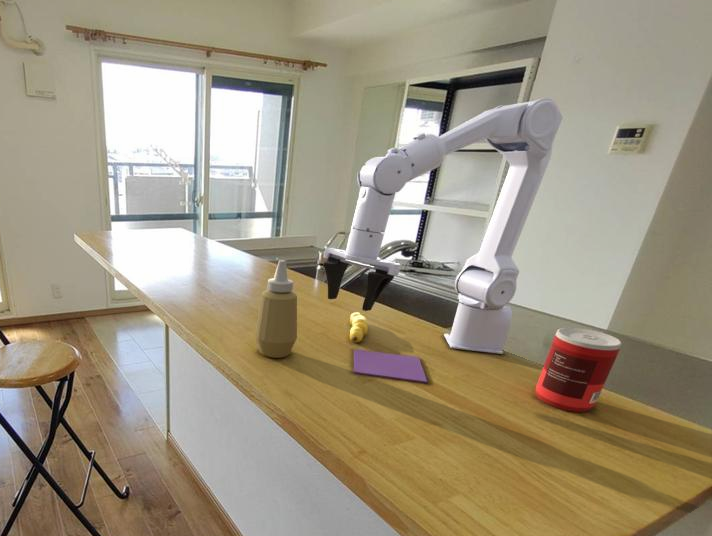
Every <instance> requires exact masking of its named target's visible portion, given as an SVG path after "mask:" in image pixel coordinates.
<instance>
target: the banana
mask: <svg viewBox="0 0 712 536" xmlns="http://www.w3.org/2000/svg"><path fill="white" fill-rule="evenodd" d="M349 317H350V318H349V323H350V325H351V328H350V331H349V339H350V341H351V342H353V343H360V342H362V340H363V338H364V336H366V334H368V331H369V328H368V327H369V326H368V319H367V317H366V316H364V315H362V314H361V313H360V312H357V311H356V312H353V313H351V315H350V316H349Z"/></svg>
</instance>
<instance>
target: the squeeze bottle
mask: <svg viewBox="0 0 712 536" xmlns="http://www.w3.org/2000/svg"><path fill="white" fill-rule="evenodd" d="M266 288H267V289H266V290H264V291H263V292H262V293H261V298H260V303H259V309H258V316H257V321H256V327H255V334H254V336H255V339H256V344H257V347H258V351H259V353H260V354H261V355H263V356H265V357H269V358H274V359H275V358H276V359H280V358H281V359H282V358H285V357H288V356H289V355H290V354H291V352H292V350H293V347H294V345H295V344H296V341H297V339H298V295H297V293H296V292H294V291H293V290H294V281H293V280H292V279H290V278H288V270H287V261H286V260H284V259H279V260H278V263H277V266H276V269H275V273H274V275H273V277H272V278H268V280H267V286H266Z"/></svg>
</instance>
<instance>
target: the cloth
mask: <svg viewBox="0 0 712 536" xmlns="http://www.w3.org/2000/svg"><path fill="white" fill-rule="evenodd" d="M353 374H358V375H365V376H372V377H380V378H388V379H393V380H402V381H407V382H416V383H424V384H427V383H428V380H427V376H426V374H425V371H424V368H423V366H422V363H421V360H420V357H419V356H412V355H404V354H396V353H389V352H388V353H387V352H380V351H372V350H364V349H356V348H354V349H353Z"/></svg>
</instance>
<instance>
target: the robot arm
mask: <svg viewBox="0 0 712 536" xmlns="http://www.w3.org/2000/svg"><path fill="white" fill-rule="evenodd" d="M562 120H563V114H562V113H561V111H560V108H559V106H558V104H557V103H556V102H555V100H554V99H552V98H549V97H542V98H539V99H536V100H530V101H525V102H519V103H513V104H501V105H498V106H496V107H494V108H491V109H489V110H484V111H483V112H482V113H480V114H478V115H476V116H474V117H472V118H470V119H468V120H467V121H465V122H463V123H461V124H459V125H457V126H456V127H454V128H452V129H450V130H448V131H447V132H444V133H443V134H441V135H439V136H438V135H436V134H433V133H424V132H423V133H421V132H420V133H418V134H416V135H414V136H413V137H412V138H413V140H412V141H410V142H408V143H406V144H404V145H401V146H400V147H398V148H397V147H391V148H389V149H387V154H385V156H375V157H372V158H370V159H368V160H367V161H365V163H364V165H362V168H361V169H360V171H358V172H357V175H356V180H357V185H358V187H359V194H358V199H357V203H356V207H355V212H354V216H353V219H352V225H351V228H350V233H349V236H348V240H347V245H346V249H339V248H334V247H325V248H324V252H323V259H327V260H324V261H323V264H322V266H323V269H324V271H325V276H326V280H327V281H326V282H327V299H328V300H335V299H337V298H338V295H339V293H340V289H341V285H342V280H343V279H344V275H345V273H346V271H347V269H348V266H349V265H353V266H356V267H361V268H364V269H368V270H373V271H368V273H367V285H366V290H365V291H366V292H365V296H364V299H363V302H362V308H361V309H362V311H364V312H367V311H371V310H372V309H373V307H374V305H375V303H376V301H377V299H378V298H379V296H380V295H381V294H382V292H383V291H384V290H385V288H386V287H387V286H388V285H389V284H390V283H391V282H392V281H393V280H394V278H395V276H399V274H400V270H401V266H402V263H398V262H394V261H391V260H387V259H384V258H381V257H379V255H380V251H381V247H382V244H383V240H384V238H385V237H384V236H385V233H386V229H387V225H388V221H389V218H390V214H391V212H392V208H393V205H394V204H393V203H394V199H395V195H396V193H400V192H401V190H402V189H403V188H404V187H405V185H406V184H407V183H408V182H410V181H412V180H415V179H416V178H418V177H421V176H423V175H425V174H426V173H429V172H431V171H433V170H435V169H437V168H439V167H441V165H442V164H443V161H444V158H445V157H446V156H448V155H450V154H453V153H454V152H457V151H459V150H461V149H464V148H466V147H468V146H471V145H473V144H476V143H477V142H480V141H482V140H485V142H486V143H487V144H488V145H490V146H491V147H492V148H493V149H494V150H496V151H497V152H498V153H499V154H500V155H501V156H503V157H504V158H505V160H506V162H507V163H508V164H509V168H508V171H507V173H506V174H507V175H506V177H505V179H504V181H503V185H502V188H501V191H500V193H499V195H498V199H497V202H496V204H495V207H494V209H493V213H492V216H491V218H490V221H489V224H488V226H487V230H486V232H485V235H484V237H483V240H482V243H481V246H480V249H479V251H478V252H477V253H476V254H474V255H472V256H471V257H469V258H468V259H466V261H465V263H464V266H463V268H462V270H461V271H459V273H458V275H457V276H456V278H455V280H454V290H455V292H456V293H457V294H458V295H457V300H458V304H457V308H456V312H455V315H454V320H453V323H452V327H451V331H450V333H444V334H443V337H444V338H445V340H446V342H447V344H448V345H449V348H451V349H454V350H462V351H463V350H465V351H473V352H481V353H488V354H497V355H498V354H499V355H503V354H504V351H503V349H504V346H505V344H506V340H507V337H508V334H509V331H510V329H511V324H512V320H513V311H512V308H511V307H510V306H507V305H508V304H509V302H511V301H512V300H513V298H514V296H515V294H516V291H517V279H518V276H519V274H520V270H519V268H518V266H517V265H516V263H515V261H514V260H513V255H514V252H515V250H516V246H517V245H518V242H519V239H520V236H521V234H522V232H523V229H524V227H525V224H526V221H527V219H528V216H529V214H530V211H531V209H532V206H533V203H534V201H535V198H536V196H537V193H538V191H539V188H540V187H541V184H542V181H543V178H544V176H545V174H546V171H547V168H548V165H549V163H550V160H551V157H552V153H553V152H552V151H553V143H554V141H555V138H556V135H557V133H558V130H559V128H560V126H561V123H562Z"/></svg>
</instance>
